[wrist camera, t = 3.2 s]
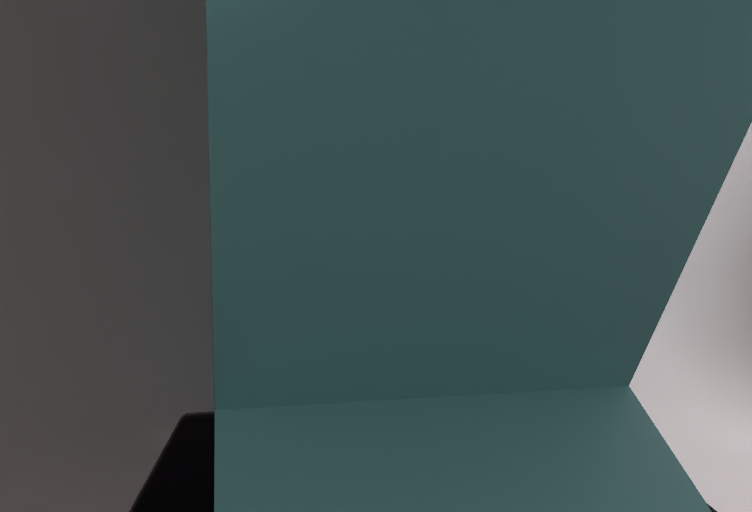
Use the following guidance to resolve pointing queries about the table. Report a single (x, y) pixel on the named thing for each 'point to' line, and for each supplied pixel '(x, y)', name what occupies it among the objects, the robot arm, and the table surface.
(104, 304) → the table surface
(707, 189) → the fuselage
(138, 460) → the table surface
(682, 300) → the table surface
